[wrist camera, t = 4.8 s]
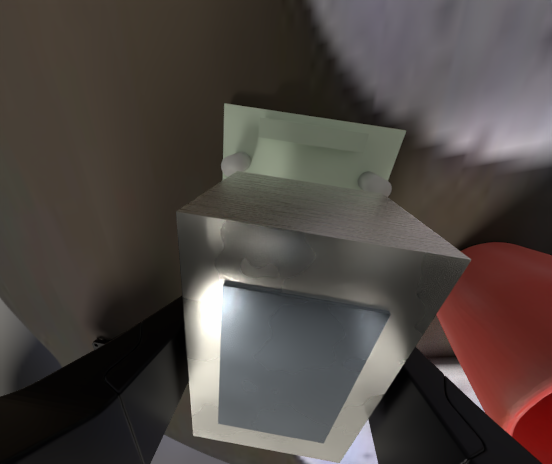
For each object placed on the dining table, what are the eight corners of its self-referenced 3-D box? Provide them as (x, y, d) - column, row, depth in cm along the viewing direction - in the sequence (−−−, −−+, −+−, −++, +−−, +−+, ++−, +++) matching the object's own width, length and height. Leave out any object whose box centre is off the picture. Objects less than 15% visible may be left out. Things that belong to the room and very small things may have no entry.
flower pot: (597, 239, 15) (997, 387, 7) (495, 338, 20) (645, 498, 11) (455, 205, 15) (668, 308, 6) (387, 312, 20) (455, 454, 11)
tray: (340, 296, 20) (347, 328, 16) (223, 276, 20) (209, 303, 17) (399, 130, 13) (430, 130, 10) (229, 105, 14) (208, 97, 11)
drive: (325, 349, 12) (340, 467, 8) (228, 332, 12) (192, 439, 8) (382, 193, 8) (475, 263, 4) (237, 170, 8) (173, 213, 4)
